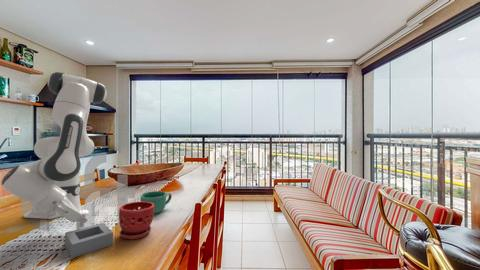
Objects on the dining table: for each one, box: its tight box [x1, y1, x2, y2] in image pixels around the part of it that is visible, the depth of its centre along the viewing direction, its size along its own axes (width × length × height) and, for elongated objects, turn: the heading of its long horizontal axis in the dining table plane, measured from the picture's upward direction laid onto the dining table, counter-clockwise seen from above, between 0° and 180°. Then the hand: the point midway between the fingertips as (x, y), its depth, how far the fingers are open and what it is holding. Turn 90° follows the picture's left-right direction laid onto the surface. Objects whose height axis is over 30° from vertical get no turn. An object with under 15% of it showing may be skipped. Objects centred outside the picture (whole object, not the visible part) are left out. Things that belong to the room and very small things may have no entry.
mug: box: [140, 190, 172, 215], centre depth 111 cm, size 17×13×10 cm
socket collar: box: [64, 222, 114, 259], centre depth 76 cm, size 12×12×4 cm
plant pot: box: [118, 201, 155, 240], centre depth 85 cm, size 13×13×12 cm
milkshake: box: [75, 209, 90, 230], centre depth 84 cm, size 4×5×10 cm
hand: (82, 217), depth 85 cm, fingers open, 8 cm apart
